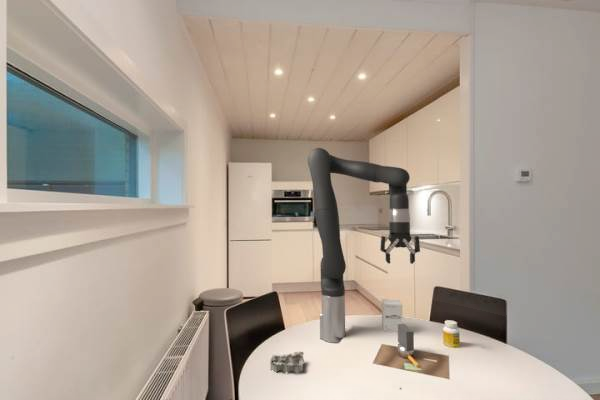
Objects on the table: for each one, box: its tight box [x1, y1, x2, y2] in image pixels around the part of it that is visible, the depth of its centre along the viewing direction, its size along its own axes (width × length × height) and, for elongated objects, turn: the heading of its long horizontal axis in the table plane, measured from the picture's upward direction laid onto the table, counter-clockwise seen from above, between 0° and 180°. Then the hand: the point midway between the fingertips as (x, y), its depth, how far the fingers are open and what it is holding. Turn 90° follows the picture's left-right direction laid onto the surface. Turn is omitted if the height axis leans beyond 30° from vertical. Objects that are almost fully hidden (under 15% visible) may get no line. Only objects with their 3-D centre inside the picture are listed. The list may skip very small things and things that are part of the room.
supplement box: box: [381, 298, 403, 333], centre depth 127 cm, size 7×7×13 cm
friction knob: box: [397, 323, 419, 367], centre depth 100 cm, size 12×5×9 cm, turn 5°
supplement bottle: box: [442, 319, 461, 349], centre depth 111 cm, size 5×5×10 cm
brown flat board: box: [372, 343, 450, 380], centre depth 100 cm, size 22×16×2 cm
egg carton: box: [269, 351, 305, 374], centre depth 98 cm, size 11×8×4 cm
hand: (400, 263), depth 117 cm, fingers open, 8 cm apart
